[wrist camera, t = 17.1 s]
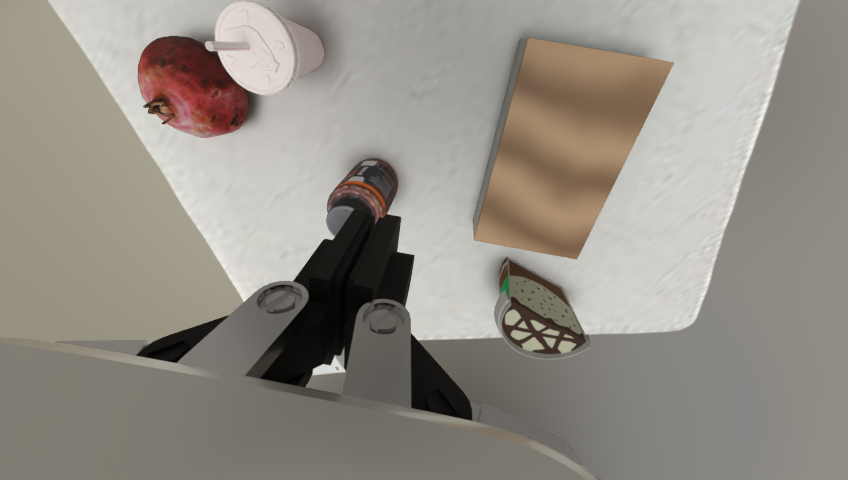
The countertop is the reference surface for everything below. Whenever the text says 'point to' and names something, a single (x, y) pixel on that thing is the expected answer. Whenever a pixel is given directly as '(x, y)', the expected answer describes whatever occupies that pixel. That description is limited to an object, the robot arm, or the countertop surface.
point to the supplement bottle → (362, 193)
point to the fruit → (190, 88)
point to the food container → (536, 315)
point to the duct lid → (565, 144)
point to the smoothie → (264, 47)
